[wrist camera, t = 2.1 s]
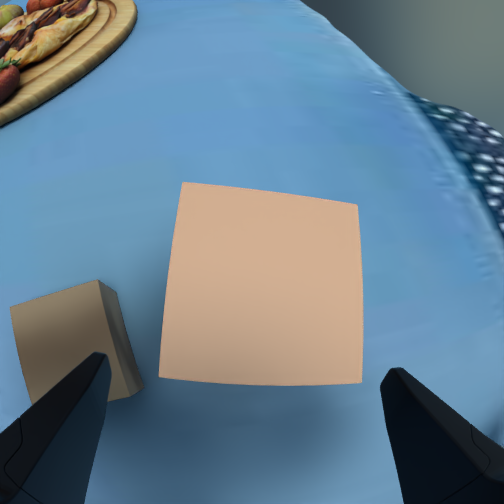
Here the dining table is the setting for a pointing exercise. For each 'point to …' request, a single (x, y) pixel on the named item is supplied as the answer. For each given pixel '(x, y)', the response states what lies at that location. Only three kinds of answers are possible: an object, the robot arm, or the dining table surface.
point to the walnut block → (73, 338)
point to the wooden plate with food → (55, 47)
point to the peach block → (263, 289)
